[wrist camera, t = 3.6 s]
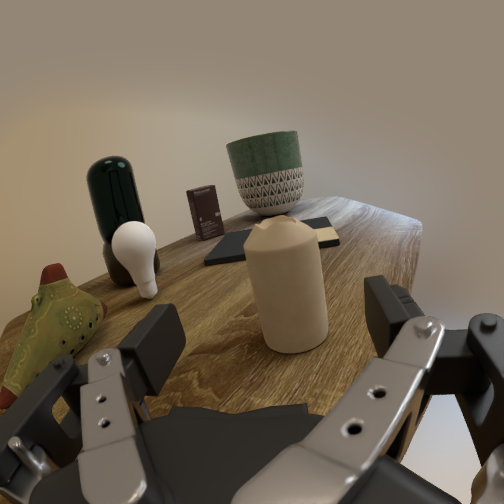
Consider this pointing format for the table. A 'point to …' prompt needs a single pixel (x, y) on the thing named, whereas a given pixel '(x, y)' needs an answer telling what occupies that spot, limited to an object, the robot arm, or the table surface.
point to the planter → (268, 171)
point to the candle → (287, 284)
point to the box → (205, 212)
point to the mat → (234, 241)
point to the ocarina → (51, 330)
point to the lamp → (115, 208)
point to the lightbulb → (137, 255)
